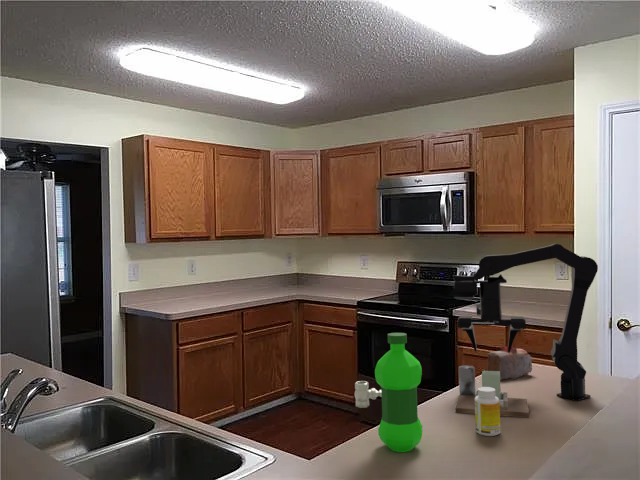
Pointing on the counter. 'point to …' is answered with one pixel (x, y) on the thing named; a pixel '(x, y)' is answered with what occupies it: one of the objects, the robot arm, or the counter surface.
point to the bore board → (507, 405)
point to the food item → (510, 362)
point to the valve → (364, 394)
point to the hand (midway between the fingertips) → (492, 351)
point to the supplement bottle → (487, 412)
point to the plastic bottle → (399, 395)
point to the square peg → (492, 381)
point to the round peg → (467, 380)
